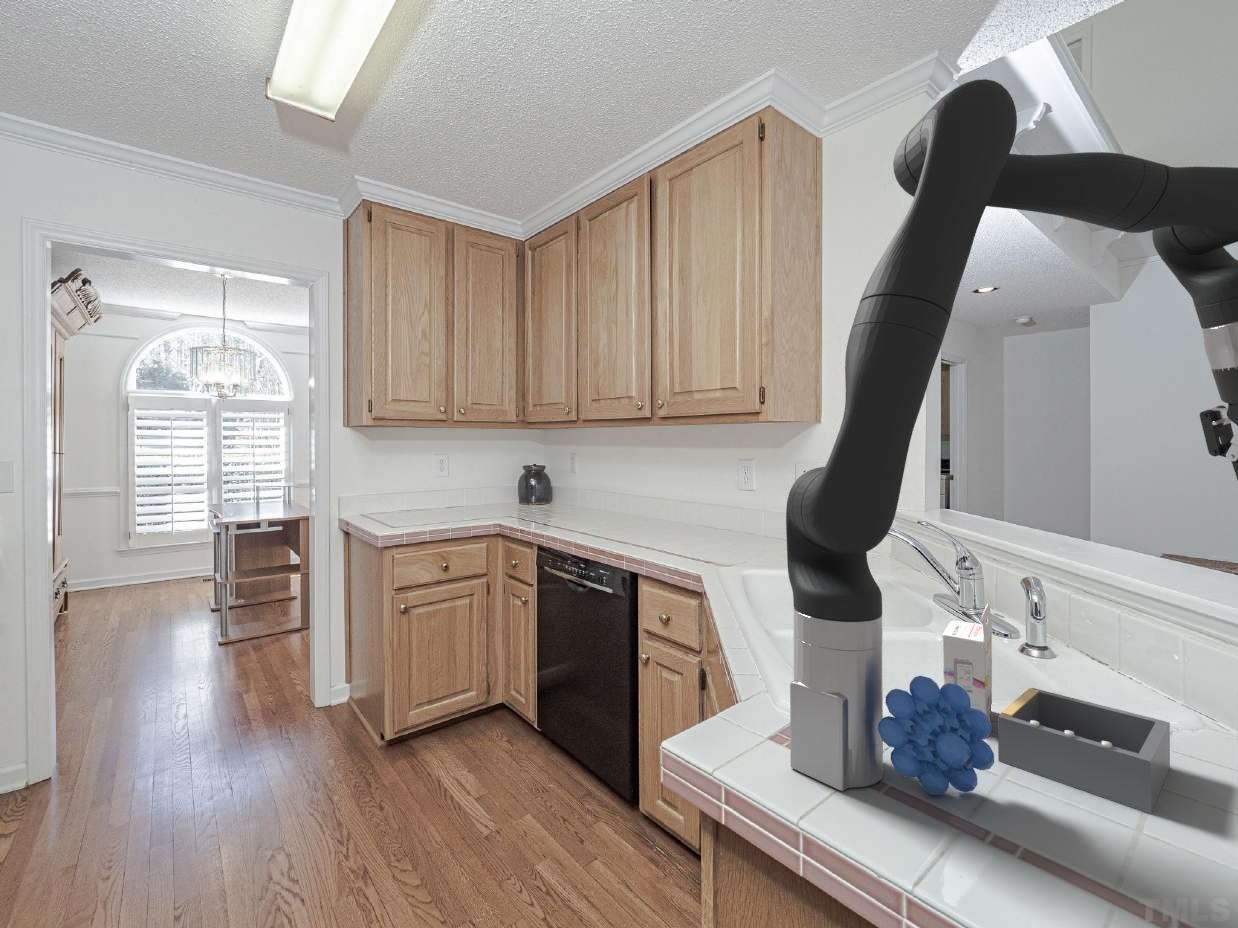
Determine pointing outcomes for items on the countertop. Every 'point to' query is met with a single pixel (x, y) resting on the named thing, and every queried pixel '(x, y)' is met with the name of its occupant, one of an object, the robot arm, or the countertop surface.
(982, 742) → the blue flower
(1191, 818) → the countertop surface
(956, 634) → the ink cartridge box
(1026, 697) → the cartridge dock
